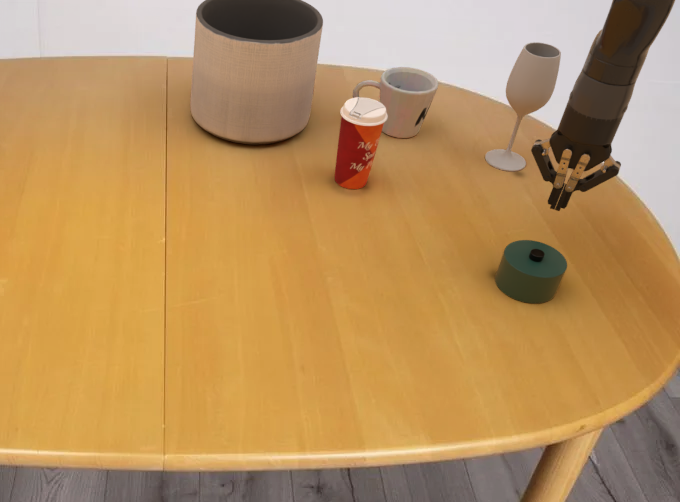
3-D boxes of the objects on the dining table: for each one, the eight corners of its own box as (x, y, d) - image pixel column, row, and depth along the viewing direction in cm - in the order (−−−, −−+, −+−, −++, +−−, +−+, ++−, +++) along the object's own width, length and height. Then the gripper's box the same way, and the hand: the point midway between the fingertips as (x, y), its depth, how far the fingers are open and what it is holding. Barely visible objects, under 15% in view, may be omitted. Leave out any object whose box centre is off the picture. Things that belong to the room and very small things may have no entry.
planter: (209, 82, 176) (215, -19, 162) (319, 102, 171) (335, 1, 158) (174, 135, 160) (177, 29, 147) (294, 159, 156) (309, 52, 142)
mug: (427, 145, 161) (440, 96, 154) (346, 135, 162) (355, 86, 156) (425, 118, 168) (438, 69, 162) (348, 109, 170) (357, 60, 163)
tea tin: (550, 269, 135) (563, 238, 131) (561, 307, 128) (575, 275, 124) (491, 262, 135) (502, 231, 131) (498, 300, 129) (510, 268, 125)
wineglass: (482, 167, 156) (517, 55, 142) (485, 146, 162) (519, 37, 147) (526, 175, 155) (566, 63, 140) (527, 154, 160) (566, 44, 146)
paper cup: (359, 198, 147) (375, 123, 138) (319, 181, 151) (332, 107, 141) (380, 178, 152) (397, 105, 143) (342, 163, 155) (356, 90, 146)
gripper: (650, 105, 122) (604, 208, 134) (554, 81, 126) (517, 183, 138) (643, 128, 117) (596, 233, 129) (543, 102, 121) (506, 206, 133)
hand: (555, 207), depth 133 cm, fingers closed
